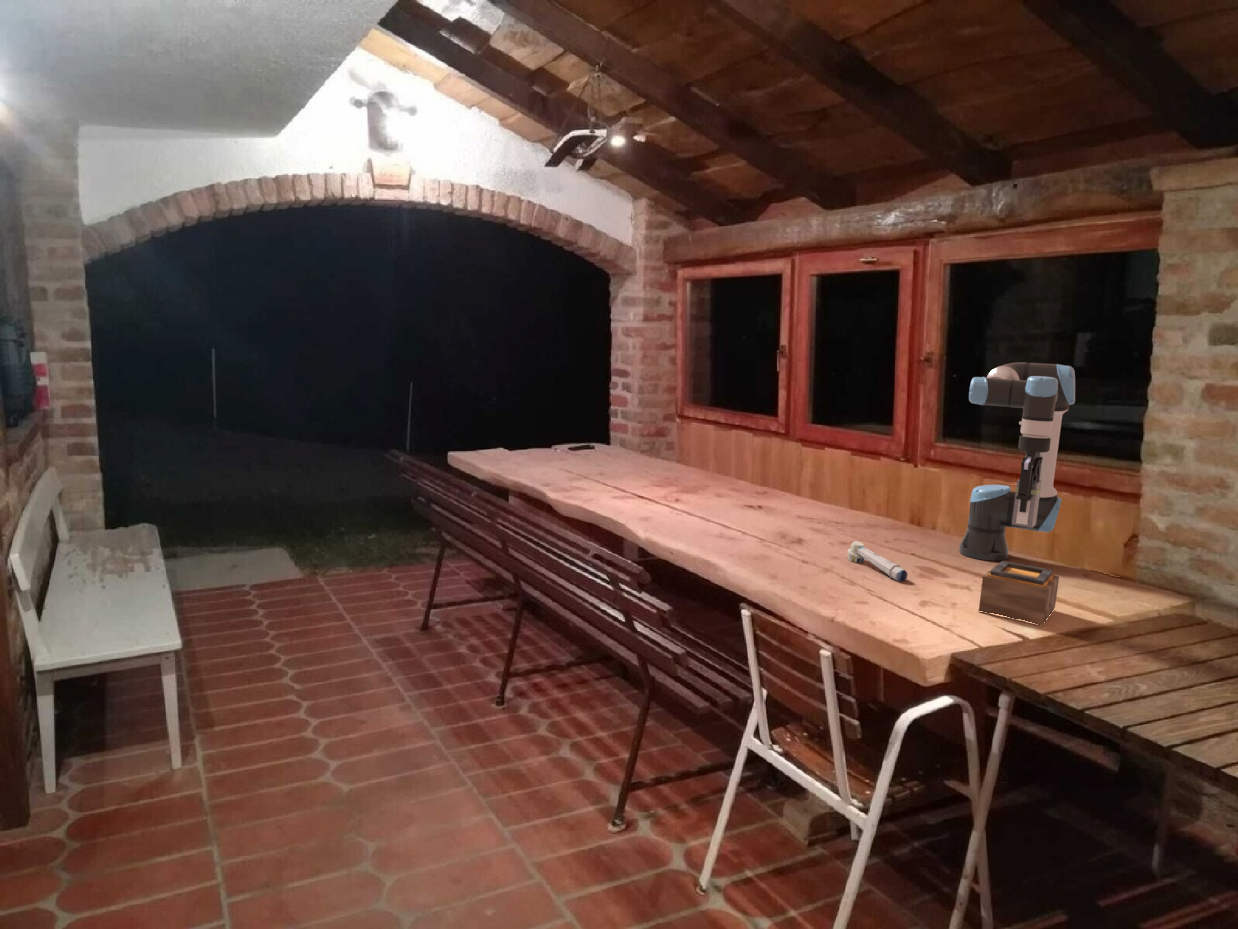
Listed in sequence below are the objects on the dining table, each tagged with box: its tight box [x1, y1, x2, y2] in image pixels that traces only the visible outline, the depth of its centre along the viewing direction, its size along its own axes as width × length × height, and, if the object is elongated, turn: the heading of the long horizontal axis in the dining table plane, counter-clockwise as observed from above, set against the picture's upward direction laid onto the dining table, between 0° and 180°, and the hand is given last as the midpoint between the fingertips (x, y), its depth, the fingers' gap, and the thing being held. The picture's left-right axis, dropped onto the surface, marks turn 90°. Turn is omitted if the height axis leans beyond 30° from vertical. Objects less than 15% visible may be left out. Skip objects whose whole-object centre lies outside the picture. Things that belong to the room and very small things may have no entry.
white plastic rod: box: [846, 540, 908, 582], centre depth 280 cm, size 5×7×25 cm
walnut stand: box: [978, 560, 1060, 627], centre depth 246 cm, size 16×16×12 cm
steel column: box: [1012, 478, 1042, 528], centre depth 242 cm, size 5×5×12 cm
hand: (1024, 521), depth 243 cm, fingers closed on steel column, 5 cm apart
